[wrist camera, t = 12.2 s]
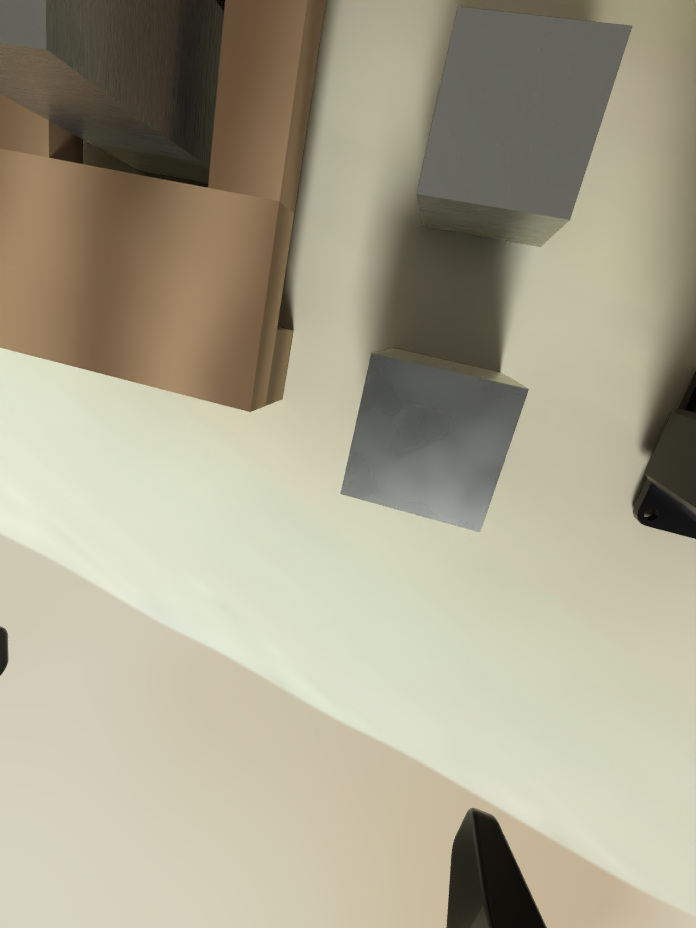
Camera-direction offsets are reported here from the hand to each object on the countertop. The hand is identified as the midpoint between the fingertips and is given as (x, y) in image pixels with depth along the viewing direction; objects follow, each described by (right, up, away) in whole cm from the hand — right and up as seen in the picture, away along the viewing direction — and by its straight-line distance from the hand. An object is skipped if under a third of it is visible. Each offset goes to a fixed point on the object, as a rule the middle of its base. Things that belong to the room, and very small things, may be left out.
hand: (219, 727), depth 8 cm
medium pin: (+6, +7, +11) cm, 14 cm away
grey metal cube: (+8, +15, +8) cm, 19 cm away
